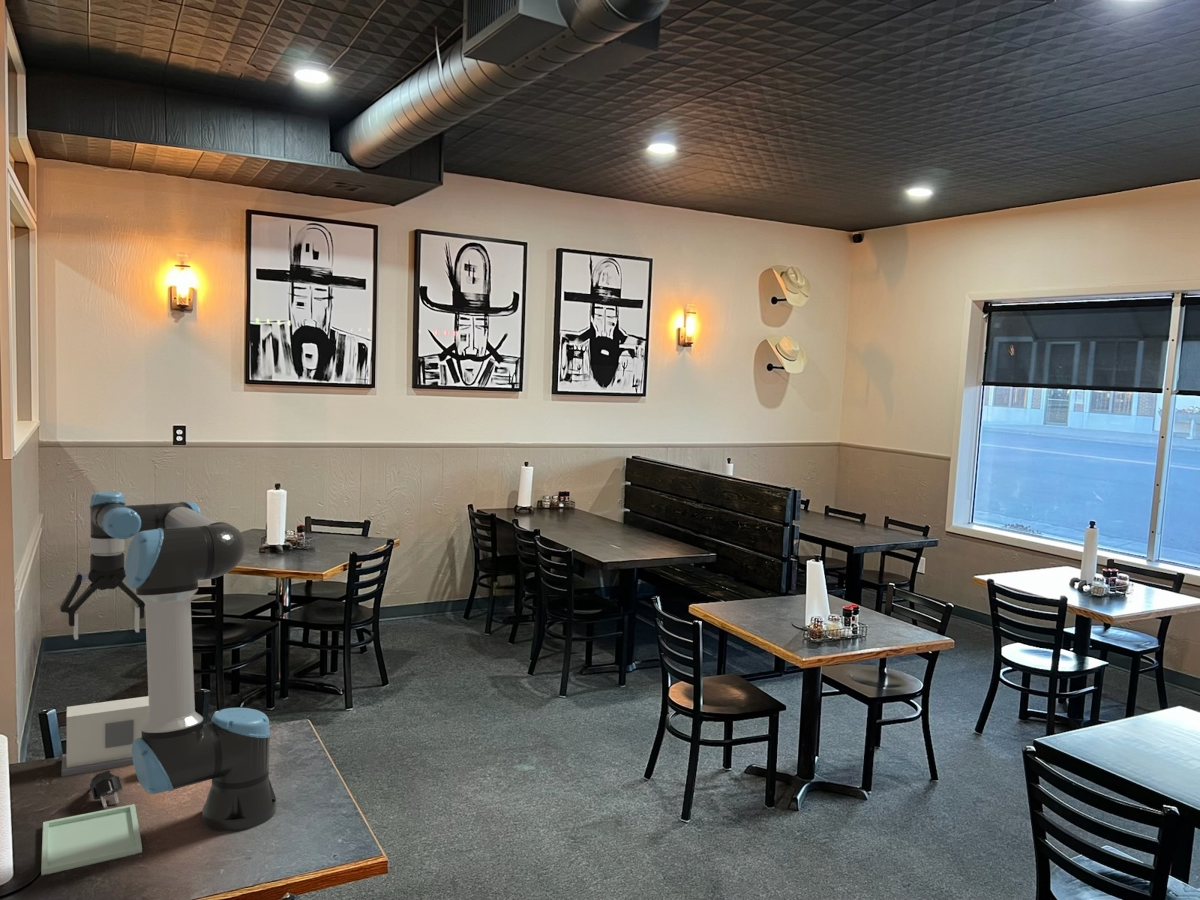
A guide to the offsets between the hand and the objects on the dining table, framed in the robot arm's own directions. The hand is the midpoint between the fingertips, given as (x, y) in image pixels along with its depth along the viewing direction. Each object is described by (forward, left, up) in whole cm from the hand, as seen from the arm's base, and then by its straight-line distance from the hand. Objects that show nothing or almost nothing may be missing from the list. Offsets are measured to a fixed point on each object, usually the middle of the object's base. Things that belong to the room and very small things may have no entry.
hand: (106, 634), depth 217 cm
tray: (-42, +27, -29) cm, 58 cm away
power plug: (-23, +16, -31) cm, 42 cm away
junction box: (-10, +3, -29) cm, 31 cm away
